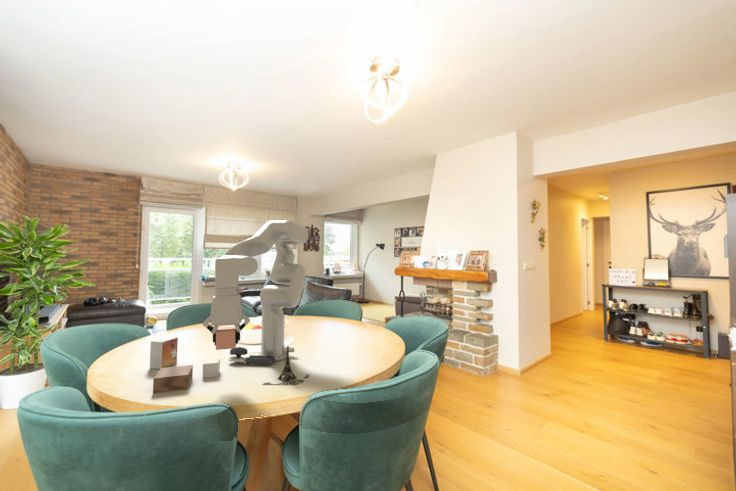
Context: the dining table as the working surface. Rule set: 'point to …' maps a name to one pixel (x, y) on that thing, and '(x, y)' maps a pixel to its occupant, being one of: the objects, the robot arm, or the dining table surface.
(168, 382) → the walnut base block
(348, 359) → the dining table surface
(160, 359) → the small box
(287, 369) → the eiffel tower figurine
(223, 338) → the terracotta cube
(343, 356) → the dining table surface
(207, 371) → the pale grey cube
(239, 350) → the can opener
